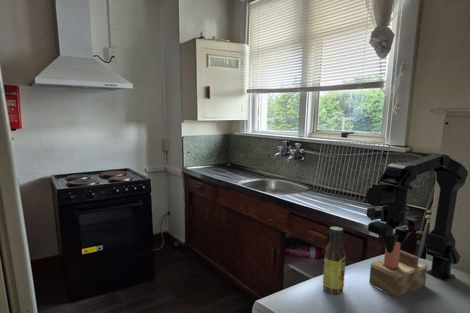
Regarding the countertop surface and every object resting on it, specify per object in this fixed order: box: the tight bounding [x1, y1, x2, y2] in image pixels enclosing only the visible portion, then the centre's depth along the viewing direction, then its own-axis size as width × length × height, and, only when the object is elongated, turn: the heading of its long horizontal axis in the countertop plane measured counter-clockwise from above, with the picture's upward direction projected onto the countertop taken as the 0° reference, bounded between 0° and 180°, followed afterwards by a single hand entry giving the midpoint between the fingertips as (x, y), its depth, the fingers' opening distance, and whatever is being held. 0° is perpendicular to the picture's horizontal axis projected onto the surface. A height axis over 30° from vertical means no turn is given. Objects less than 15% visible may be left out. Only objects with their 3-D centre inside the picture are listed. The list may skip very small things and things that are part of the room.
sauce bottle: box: [322, 226, 346, 295], centre depth 94 cm, size 7×6×20 cm
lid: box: [370, 249, 428, 278], centre depth 99 cm, size 16×9×4 cm, turn 118°
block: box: [384, 241, 401, 269], centre depth 97 cm, size 3×3×8 cm
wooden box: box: [368, 265, 428, 298], centre depth 99 cm, size 16×9×6 cm, turn 118°
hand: (392, 251), depth 97 cm, fingers closed on block, 3 cm apart
